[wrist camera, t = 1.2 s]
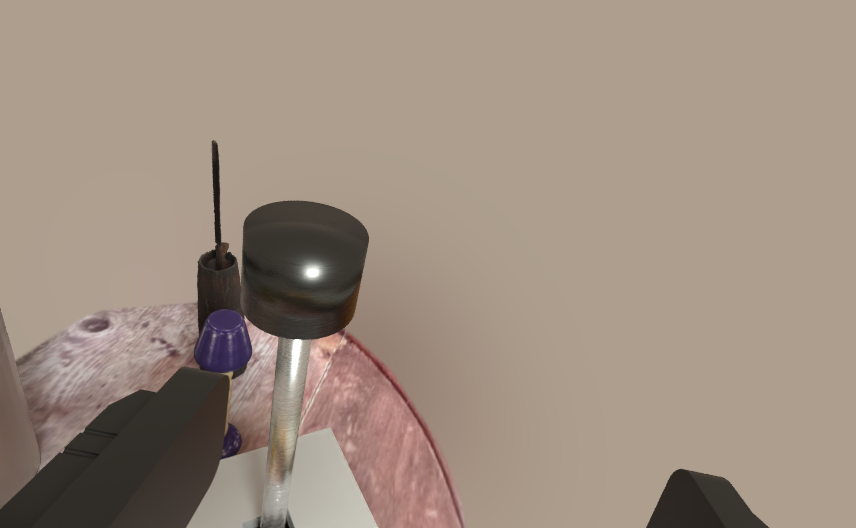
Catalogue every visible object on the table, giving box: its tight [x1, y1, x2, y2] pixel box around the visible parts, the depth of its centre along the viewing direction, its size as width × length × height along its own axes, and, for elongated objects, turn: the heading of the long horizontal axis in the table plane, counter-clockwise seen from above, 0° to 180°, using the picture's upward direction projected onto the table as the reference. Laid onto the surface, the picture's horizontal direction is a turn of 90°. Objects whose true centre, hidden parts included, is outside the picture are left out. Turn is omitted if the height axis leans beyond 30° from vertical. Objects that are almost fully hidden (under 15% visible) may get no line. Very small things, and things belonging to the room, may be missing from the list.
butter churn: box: [197, 140, 248, 379], centre depth 53 cm, size 9×10×28 cm
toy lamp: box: [194, 309, 252, 460], centre depth 47 cm, size 5×5×17 cm
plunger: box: [240, 201, 369, 528], centre depth 24 cm, size 8×8×26 cm
